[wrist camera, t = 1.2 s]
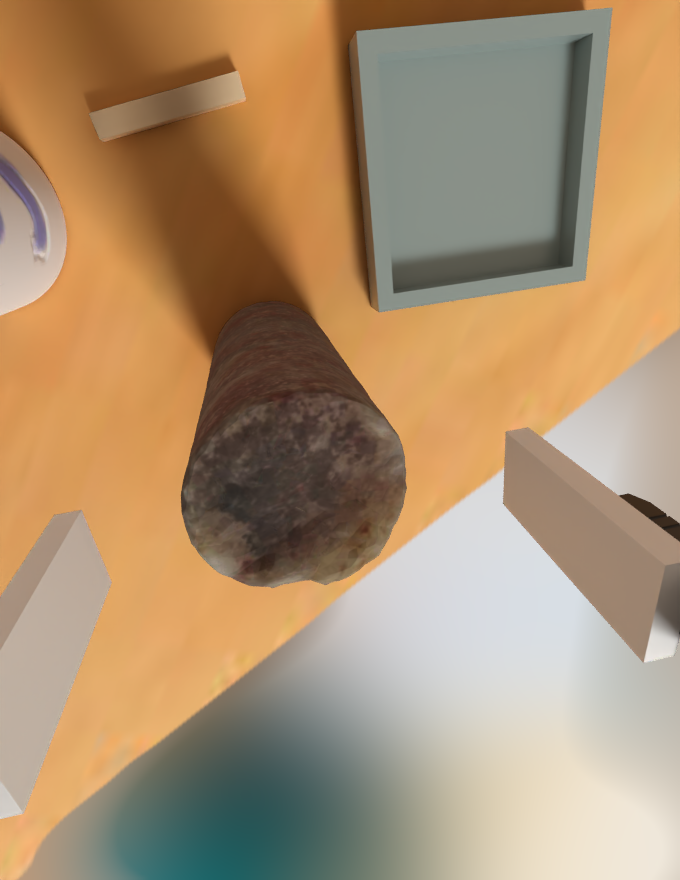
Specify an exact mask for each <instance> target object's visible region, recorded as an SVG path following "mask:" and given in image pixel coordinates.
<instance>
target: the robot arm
mask: <svg viewBox="0 0 680 880" xmlns="http://www.w3.org/2000/svg"><path fill="white" fill-rule="evenodd" d="M503 497H504V498H503V504H504V505H505V506H506V507H507V509H508V510H509V511H510V512H511V513H512V514H513V515H514V517H516V519H517V520H518V521H519V522H520V523H521V524H522V526H523V527H524V528H525V529H526V530H527V531H528V532H529V533H530V535H531V536H532V537H533V538H534V539H535V540H536V541H537V543H538V544H539V545H540V546H541V547H542V548H543V549H544V551H545V552H546V553H547V554H548V555H549V556H550V557H551V559H552V560H553V561H554V562H555V563H556V564H557V565H558V566H559V567H560V568H561V570H562V571H563V572H564V573H565V574H566V575H567V577H568V578H569V579H570V580H571V581H572V582H573V583H574V585H575V586H576V587H577V588H578V589H579V590H580V591H581V592H582V593H583V595H584V596H585V597H586V598H587V599H588V600H589V602H590V603H591V604H592V605H593V606H594V607H595V608H596V610H598V612H599V613H600V614H601V615H602V616H603V617H604V619H605V620H606V621H607V622H608V623H609V624H610V625H611V627H612V628H613V629H614V630H615V631H616V632H617V633H618V634H619V636H620V637H621V638H622V639H623V640H624V641H625V642H626V644H627V645H628V646H629V647H630V648H631V649H632V650H633V651H634V653H635V654H636V655H637V656H638V657H639V658H640V659H641V661H642V662H643V663H646V662H650V661H654V660H658V659H662V658H666V657H670V656H674V655H675V654H676V650H677V646H678V643H679V639H680V524H679V523H678V522H677V521H675V520H674V519H673V518H671V517H670V516H668V517H667V516H666V513H664V512H663V511H661V510H660V509H659V508H657V507H656V506H654V505H653V504H652V503H650V502H648V501H646V500H643V499H641V498H638V497H636V496H633V495H631V494H625V495H620V496H618V495H617V494H616V493H614V492H613V491H612V490H610V489H609V488H608V487H606V486H605V485H604V484H602V483H601V482H600V481H598V480H597V479H596V478H594V477H593V476H591V474H589V473H588V472H587V471H585V470H584V469H582V468H581V467H580V466H579V465H577V464H576V463H575V462H573V461H572V460H571V459H569V458H568V457H567V456H565V455H564V454H562V453H561V452H560V451H559V450H557V449H556V448H555V447H553V446H552V445H551V444H549V443H548V442H547V441H546V440H544V439H543V438H542V437H540V436H539V435H538V434H536V433H535V432H534V431H532V430H531V429H530V428H523V429H517V430H512V431H506V439H505V467H504V496H503ZM111 583H112V582H111V579H110V577H109V575H108V572H107V570H106V567H105V565H104V563H103V560H102V558H101V555H100V553H99V551H98V548H97V546H96V543H95V541H94V539H93V536H92V534H91V532H90V529H89V527H88V524H87V522H86V520H85V517H84V515H83V512H82V510H79V511H73V512H68V513H62V514H57V515H54V516H53V518H52V519H51V521H50V522H49V524H48V525H47V527H46V528H45V530H44V531H43V533H42V534H41V536H40V537H39V539H38V540H37V542H36V543H35V545H34V546H33V548H32V550H31V551H30V553H29V554H28V556H27V557H26V559H25V560H24V562H23V563H22V565H21V566H20V568H19V569H18V571H17V572H16V574H15V575H14V577H13V578H12V580H11V581H10V583H9V584H8V586H7V587H6V589H5V590H4V592H3V593H2V595H1V597H0V819H3V818H7V817H11V816H15V815H19V814H23V813H24V812H25V809H26V806H27V804H28V801H29V798H30V796H31V793H32V790H33V788H34V785H35V783H36V780H37V777H38V775H39V772H40V769H41V767H42V764H43V762H44V759H45V756H46V754H47V751H48V748H49V746H50V743H51V741H52V738H53V735H54V733H55V730H56V727H57V725H58V722H59V720H60V717H61V714H62V712H63V709H64V706H65V704H66V701H67V699H68V696H69V693H70V691H71V688H72V685H73V683H74V680H75V678H76V675H77V672H78V670H79V667H80V664H81V662H82V659H83V656H84V654H85V651H86V649H87V646H88V643H89V641H90V638H91V635H92V633H93V630H94V628H95V625H96V622H97V620H98V617H99V614H100V612H101V609H102V607H103V604H104V601H105V599H106V596H107V593H108V591H109V588H110V586H111Z"/></svg>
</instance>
